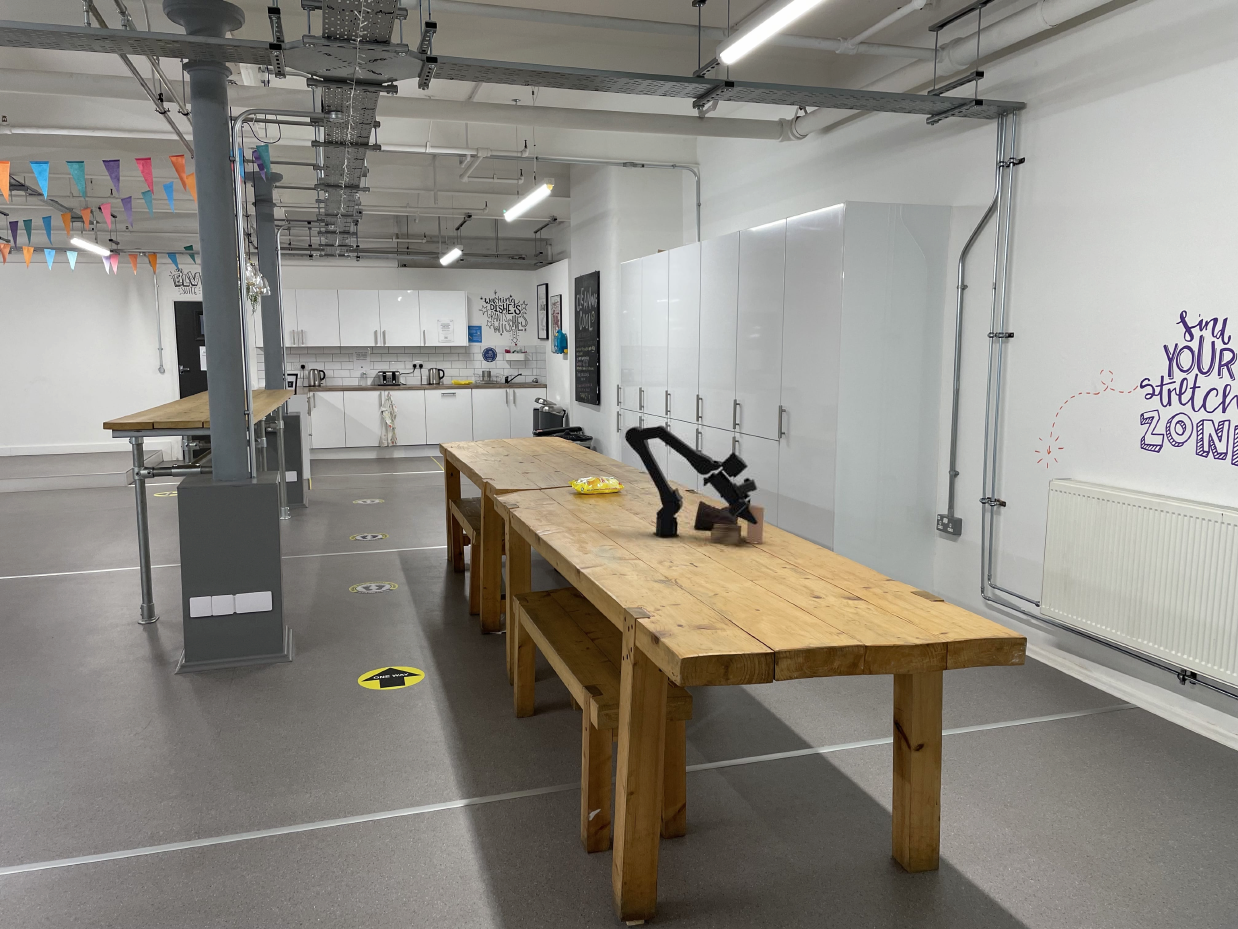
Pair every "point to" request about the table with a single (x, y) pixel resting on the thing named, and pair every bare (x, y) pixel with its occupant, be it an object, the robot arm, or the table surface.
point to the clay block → (756, 530)
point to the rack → (725, 534)
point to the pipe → (713, 516)
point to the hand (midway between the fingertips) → (756, 522)
